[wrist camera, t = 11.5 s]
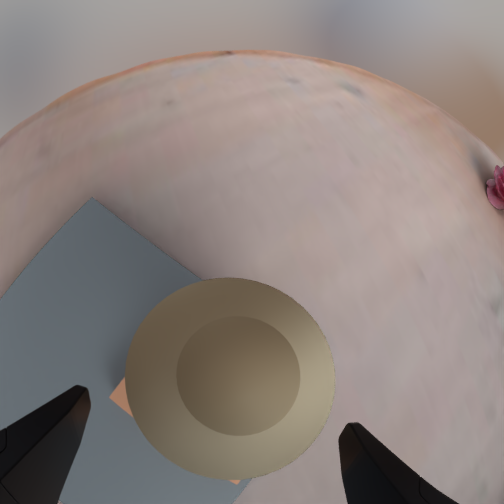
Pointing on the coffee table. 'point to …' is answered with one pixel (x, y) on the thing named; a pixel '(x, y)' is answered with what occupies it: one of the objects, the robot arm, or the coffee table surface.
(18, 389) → the board
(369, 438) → the robot arm
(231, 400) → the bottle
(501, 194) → the flower
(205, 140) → the coffee table surface
